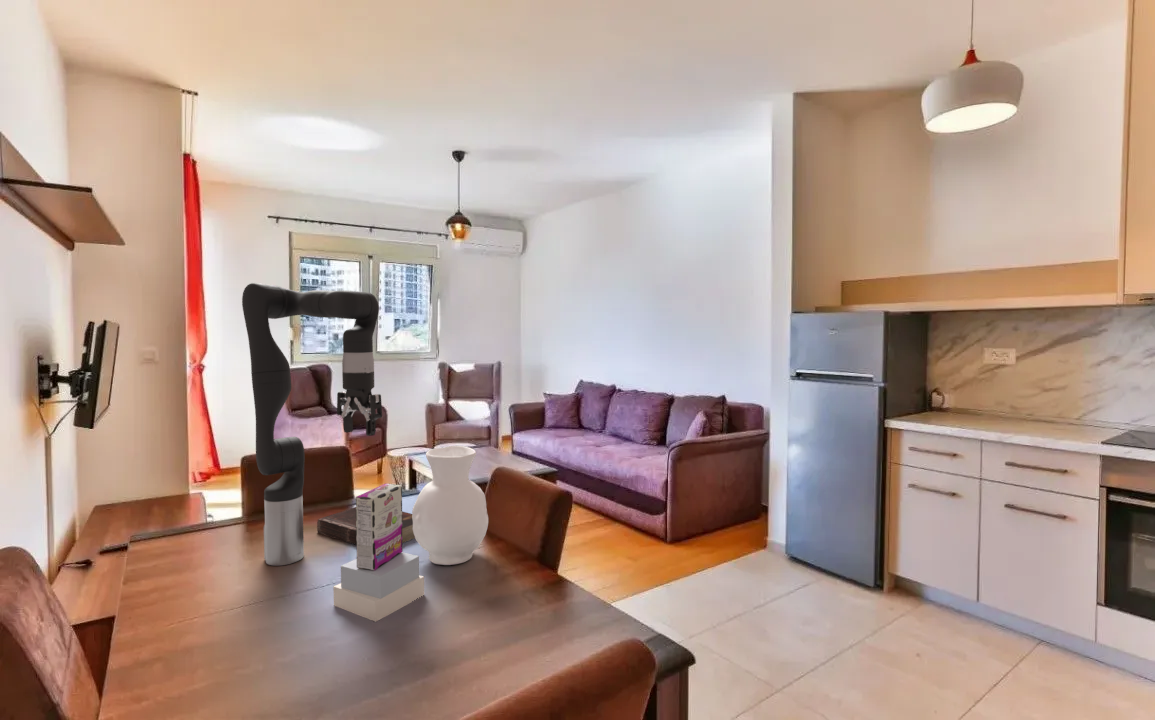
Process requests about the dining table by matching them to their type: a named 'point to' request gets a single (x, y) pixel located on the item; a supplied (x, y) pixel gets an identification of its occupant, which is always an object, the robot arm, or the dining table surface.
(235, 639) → the dining table surface
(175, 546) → the dining table surface
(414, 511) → the vase
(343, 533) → the hardback book
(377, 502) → the candy bar box
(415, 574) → the top block
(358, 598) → the lower block
